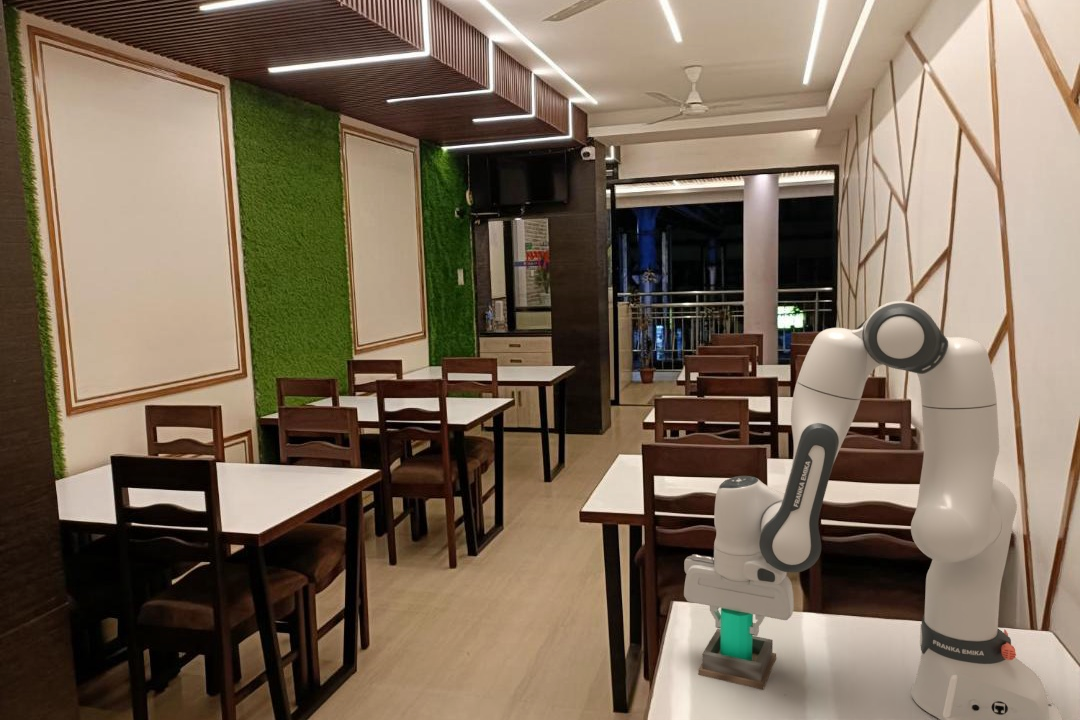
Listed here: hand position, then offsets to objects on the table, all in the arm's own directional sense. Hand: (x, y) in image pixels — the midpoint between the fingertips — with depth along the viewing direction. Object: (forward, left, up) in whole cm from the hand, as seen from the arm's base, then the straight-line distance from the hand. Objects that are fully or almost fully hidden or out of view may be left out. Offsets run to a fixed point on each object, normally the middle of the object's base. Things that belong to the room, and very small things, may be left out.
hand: (737, 630), depth 147 cm
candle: (0, 0, -6) cm, 6 cm away
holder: (0, 0, -7) cm, 7 cm away
